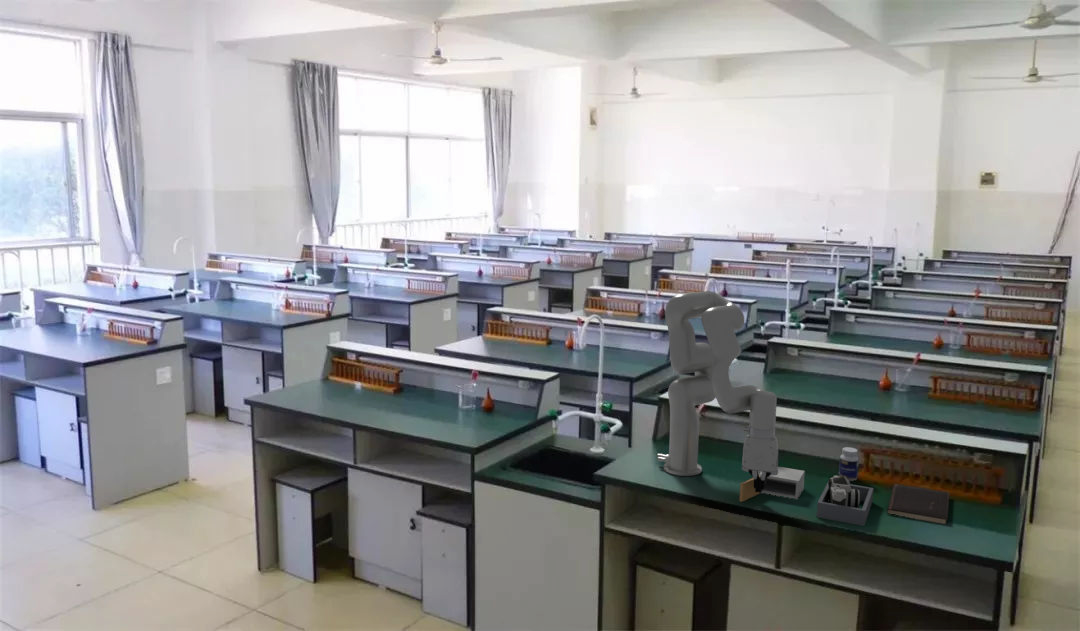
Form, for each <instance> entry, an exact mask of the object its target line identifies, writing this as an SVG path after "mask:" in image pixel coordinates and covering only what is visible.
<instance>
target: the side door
mask: <svg viewBox="0 0 1080 631" xmlns="http://www.w3.org/2000/svg"><path fill="white" fill-rule="evenodd" d="M758 475H759V474H758ZM759 477H761V475H759ZM759 494H761V493H759V492H755V488H754V479H753V477H752V478H750V479H747V480H745V481H743V482H741V483H739V502H745V501H747V500H749V499H751V498H753V497H755V496H757V495H759Z"/></svg>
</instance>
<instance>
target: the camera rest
mask: <svg viewBox="0 0 1080 631" xmlns="http://www.w3.org/2000/svg"><path fill="white" fill-rule="evenodd" d="M828 482H829V480H828ZM828 482H827V484H826V485H825V487H824V489H823V491H822V492H821V495H820V497H819V499H818V501H817V506H816V508H817V509H816V518H821V519H826V520H831V521H834V522H842V523H847V524H851V525H856V526H862V527H864V526H865V525H866V522H867V519H868V517H869V514H870V511H871V508H872V504H873V501H874V500H873V499H874V488H873V487H868V486H862V485H857V484H851V483H850V487H851V489H858V490H859V492H860V502H861V501H862V502H861V503H863V505H862V508H860V507H859V508H853V507H848V506H842V505H837V504H831V503H829V501H828V500H829V490H830V488H829V486H828ZM870 507H871V508H870Z"/></svg>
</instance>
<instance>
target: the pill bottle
mask: <svg viewBox="0 0 1080 631" xmlns="http://www.w3.org/2000/svg"><path fill="white" fill-rule="evenodd" d="M841 450H842V451H841V452H842V454H841V455H840V457H839V466H838V467H839V468H838V470H839V471H838V476H839V478H840V477H846V478H847V479H848V481H849V482H854V480H855V481H857V479H858V471H859V470H858V469H859V463H860V462H859V461H860V460H859V457H858V452H859V451H858V449H856V448H855V447H850V446H849V447H847V446H845V447H843V448H842V449H841Z"/></svg>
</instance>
